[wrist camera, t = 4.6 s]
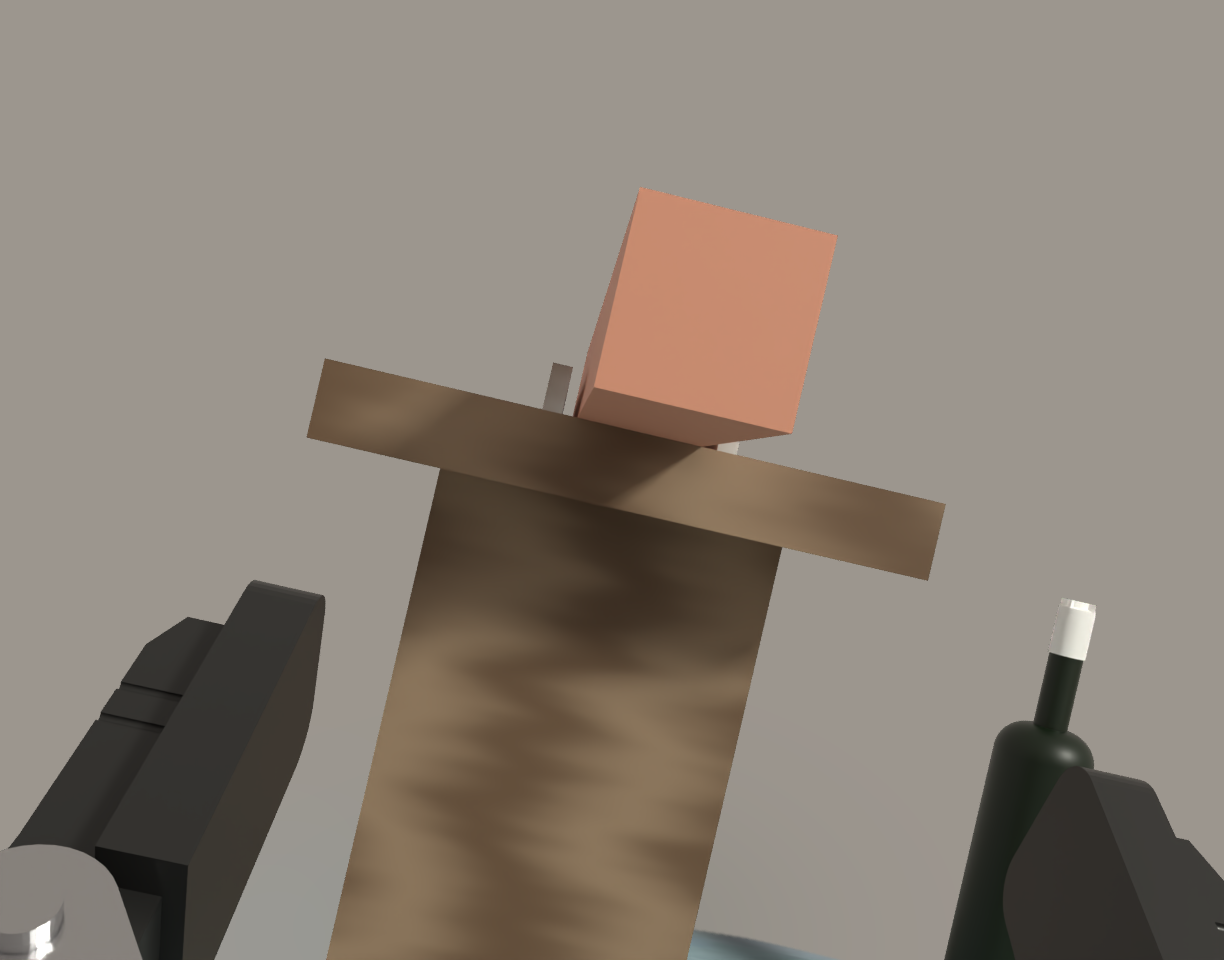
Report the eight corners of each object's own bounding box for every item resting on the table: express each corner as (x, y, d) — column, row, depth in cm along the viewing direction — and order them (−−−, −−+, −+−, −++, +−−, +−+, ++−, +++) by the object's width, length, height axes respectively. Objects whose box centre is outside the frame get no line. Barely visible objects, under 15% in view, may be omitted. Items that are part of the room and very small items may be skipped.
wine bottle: (989, 1121, 67) (1107, 608, 67) (902, 1069, 71) (1013, 586, 71) (1032, 1099, 71) (1144, 616, 71) (947, 1051, 75) (1053, 595, 75)
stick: (650, 454, 44) (669, 371, 44) (792, 433, 18) (838, 235, 18) (568, 435, 44) (587, 352, 44) (594, 386, 18) (640, 186, 18)
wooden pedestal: (649, 1314, 45) (845, 467, 45) (704, 1785, 29) (1009, 466, 29) (182, 1223, 44) (383, 359, 44) (-31, 1658, 28) (287, 295, 28)
